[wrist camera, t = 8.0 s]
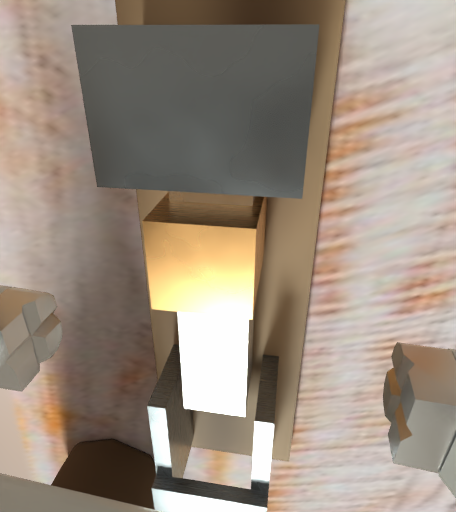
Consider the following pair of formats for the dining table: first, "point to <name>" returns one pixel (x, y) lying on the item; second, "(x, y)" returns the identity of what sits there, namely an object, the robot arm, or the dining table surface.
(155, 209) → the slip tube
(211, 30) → the socket
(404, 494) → the dining table surface
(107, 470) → the beer bottle
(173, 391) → the grey u-shaped bracket
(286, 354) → the board
